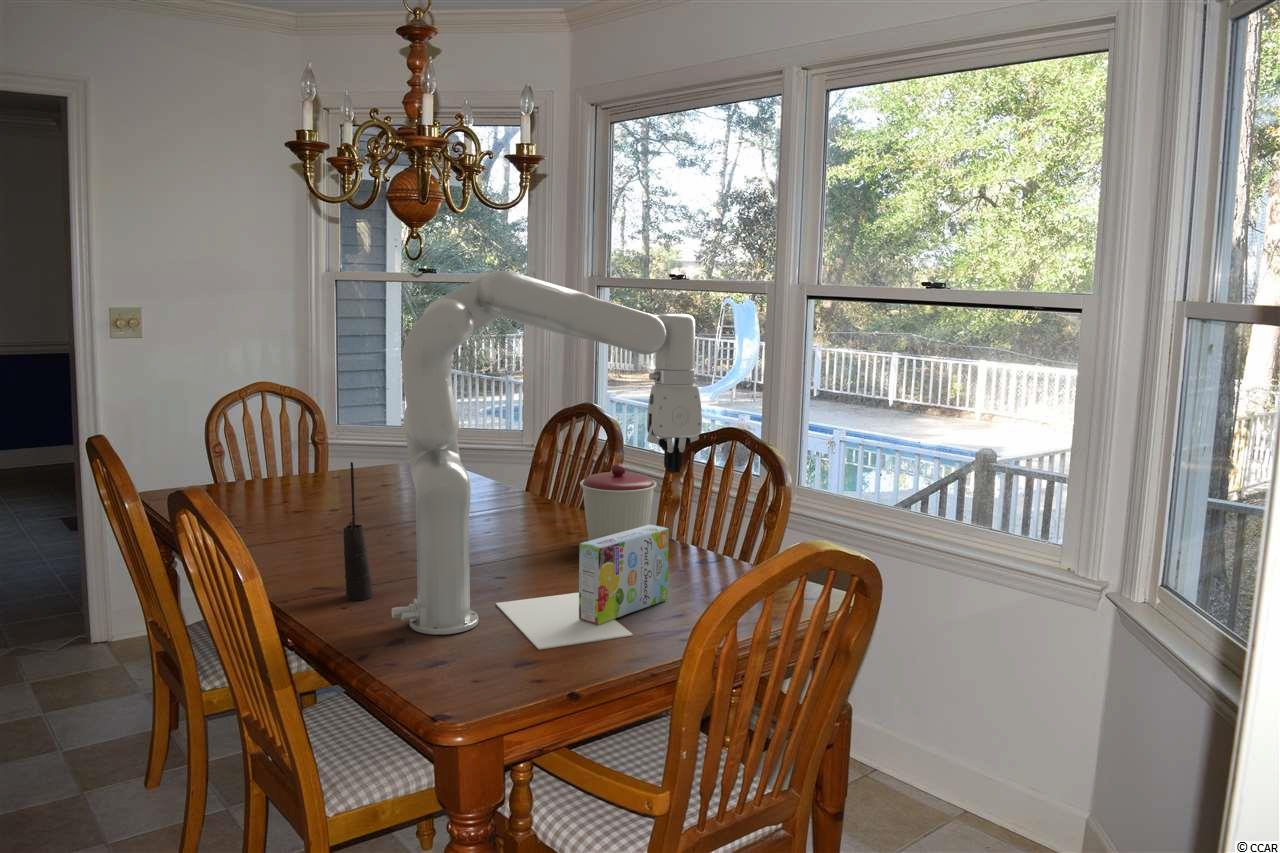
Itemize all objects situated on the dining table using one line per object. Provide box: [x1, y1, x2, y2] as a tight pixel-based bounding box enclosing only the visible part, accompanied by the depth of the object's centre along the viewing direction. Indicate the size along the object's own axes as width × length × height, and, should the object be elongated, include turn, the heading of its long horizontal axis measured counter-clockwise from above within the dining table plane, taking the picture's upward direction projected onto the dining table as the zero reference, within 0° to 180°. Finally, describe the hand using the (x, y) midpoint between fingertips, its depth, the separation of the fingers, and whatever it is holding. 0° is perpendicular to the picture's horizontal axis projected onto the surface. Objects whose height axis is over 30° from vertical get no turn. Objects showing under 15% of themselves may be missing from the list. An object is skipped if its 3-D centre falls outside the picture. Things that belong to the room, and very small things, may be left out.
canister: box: [579, 462, 657, 541], centre depth 235 cm, size 18×18×21 cm
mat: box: [495, 592, 634, 651], centre depth 189 cm, size 18×26×1 cm
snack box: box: [578, 523, 670, 625], centre depth 193 cm, size 21×6×15 cm, turn 141°
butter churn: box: [343, 461, 374, 602], centre depth 199 cm, size 9×10×28 cm
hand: (672, 471), depth 194 cm, fingers closed
